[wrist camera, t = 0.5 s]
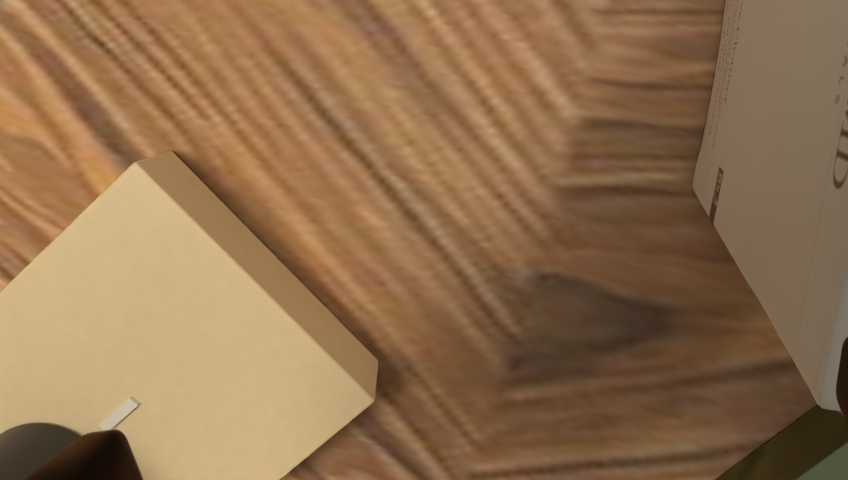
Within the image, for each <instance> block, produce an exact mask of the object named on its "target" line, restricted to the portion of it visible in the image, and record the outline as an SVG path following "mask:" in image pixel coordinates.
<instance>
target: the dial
mask: <svg viewBox="0 0 848 480" xmlns="http://www.w3.org/2000/svg"><path fill="white" fill-rule="evenodd" d="M80 437H81V436H79V435H77V434H76V433H74V432H72V431H70V430H68V429H65V428H62V427H59V426H56V425H51V424H43V423H31V424H24V425H20V426H16V427H13V428H11V429H8V430H6V431H5V432H3V433H1V434H0V480H22V479H24V478H25V477H26V476H28V475H29V474H31V473H32V472H33V471H35V470H36V469H37V468H39V467H40V466H42V465H43V464H44V463H46V462H47V461H48V460H50V459H51V458H53V457H54V456H55V455H57V454H58V453H59V452H61V451H62V450H63V449H65V448H66V447H68V446H69V445H70V444H72V443H73V442H74V441H76V440H77V439H79V438H80Z"/></svg>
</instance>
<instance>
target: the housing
mask: <svg viewBox="0 0 848 480" xmlns="http://www.w3.org/2000/svg"><path fill="white" fill-rule="evenodd" d="M716 480H848V421H847V420H846V418H845V417H844V416H843V415H842V414H841V413H839V412H838V411H835V410H828V409H822V408H821V407H820V406H819V405H817V406H816V407H815V408H813V409H812V410H811V411H809V412H808V413H806V414H805V415H804V416H802V417H801V418H800V419H798V420H797V421H795V422H794V423H793V424H791V425H790V426H789V427H787V428H786V429H785V430H783V431H782V432H780V433H779V434H778V435H776V436H775V437H774V438H772V439H771V440H770V441H768V442H767V443H765V444H764V445H763V446H761V447H760V448H759V449H757V450H756V451H754V452H753V453H752V454H750V455H749V456H748V457H746V458H745V459H744V460H742V461H741V462H739V463H738V464H737V465H735V466H734V467H733V468H731V469H730V470H728V471H727V472H726V473H724V474H723V475H722V476H720V477H719V478H718V479H716Z"/></svg>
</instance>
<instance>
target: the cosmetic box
mask: <svg viewBox="0 0 848 480" xmlns="http://www.w3.org/2000/svg"><path fill="white" fill-rule="evenodd" d="M693 190H694V192H695V194H696V195H697V197H698V199H699V201H700V203H701V204H702V206H703V208H704V210H705V211H706V213H707V215H708V216H709V218H710V220H711V222H712V224H713V225H714V227H715V228H716V230H717V232H718V233H719V235H720V237H721V239H722V240H723V242H724V244H725V245H726V247H727V249H728V251H729V252H730V254H731V256H732V257H733V259H734V261H735V262H736V264H737V266H738V267H739V269H740V271H741V273H742V274H743V276H744V278H745V280H746V281H747V283H748V284H749V286H750V288H751V289H752V291H753V292H754V294H755V295H756V297H757V298H758V300H759V302H760V303H761V305H762V307H763V308H764V310H765V312H766V313H767V315H768V317H769V319H770V321H771V322H772V324H773V326H774V328H775V330H776V332H777V334H778V336H779V338H780V340H781V341H782V343H783V344H784V346H785V348H786V349H787V351H788V353H789V354H790V356H791V357H792V359H793V361H794V363H795V365H796V367H797V368H798V370H799V372H800V374H801V375H802V377H803V379H804V381H805V382H806V384H807V386H808V387H809V389H810V391H811V393H812V395H813V397H814V399H815V401H816V403H817V404H818V405H819V406H820V407H821V408H822V409H828V410H835V411H841V409H840V407H839V404H838V402H837V397H836V383H837V376H838V370H839V363H840V357H841V350H842V345H843V342H844V340H845V339H846V337H847V336H848V0H726V2H725V10H724V17H723V25H722V32H721V39H720V46H719V52H718V58H717V64H716V70H715V76H714V81H713V87H712V93H711V98H710V103H709V108H708V113H707V118H706V123H705V128H704V134H703V139H702V143H701V148H700V152H699V155H698V159H697V163H696V168H695V173H694V178H693Z"/></svg>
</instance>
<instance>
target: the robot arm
mask: <svg viewBox="0 0 848 480" xmlns="http://www.w3.org/2000/svg"><path fill="white" fill-rule="evenodd" d="M836 397H837V402H838V404H839V407H840V409H841V411H842V413H843V415H844V416H845V418H846V420H847V421H848V336H847V337H846V339H845V340H844V342H843V345H842V350H841V357H840V363H839V370H838V376H837V383H836ZM22 480H143V477H142V474H141V471H140V469H139V467H138V464H137V462H136V459H135V457H134V454H133V452H132V449H131V447H130V444H129V442H128V440H127V438H126V436H125V434H124V433H123V432H122V431H120V430H117V429H113V430H105V431H97V432H90V433H87V434H84V435H83V436H81V437H80V438H79V439H77V440H76V441H74V442H73V443H72V444H70V445H69V446H68V447H66V448H65V449H63V450H62V451H61V452H59V453H58V454H57V455H55V456H54V457H53V458H51V459H50V460H48V461H47V462H46V463H44V464H43V465H42V466H40V467H39V468H37V469H36V470H35V471H33V472H32V473H31V474H29V475H28V476H26V477H25V478H24V479H22Z"/></svg>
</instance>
